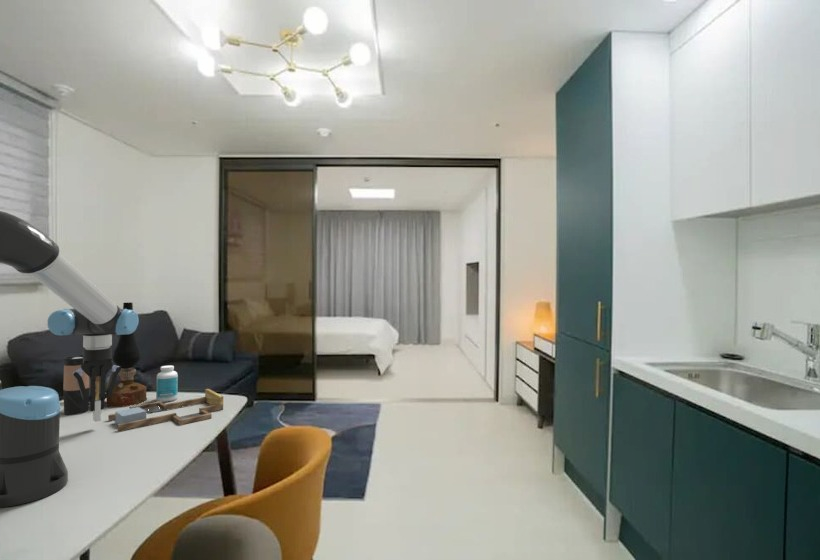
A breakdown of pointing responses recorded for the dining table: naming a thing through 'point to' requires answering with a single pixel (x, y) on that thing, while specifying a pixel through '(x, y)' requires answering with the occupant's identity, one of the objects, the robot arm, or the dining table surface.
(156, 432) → the dining table surface
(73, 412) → the travel mug
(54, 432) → the robot arm
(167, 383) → the pill bottle
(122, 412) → the slate block
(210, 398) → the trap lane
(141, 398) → the oil lamp
